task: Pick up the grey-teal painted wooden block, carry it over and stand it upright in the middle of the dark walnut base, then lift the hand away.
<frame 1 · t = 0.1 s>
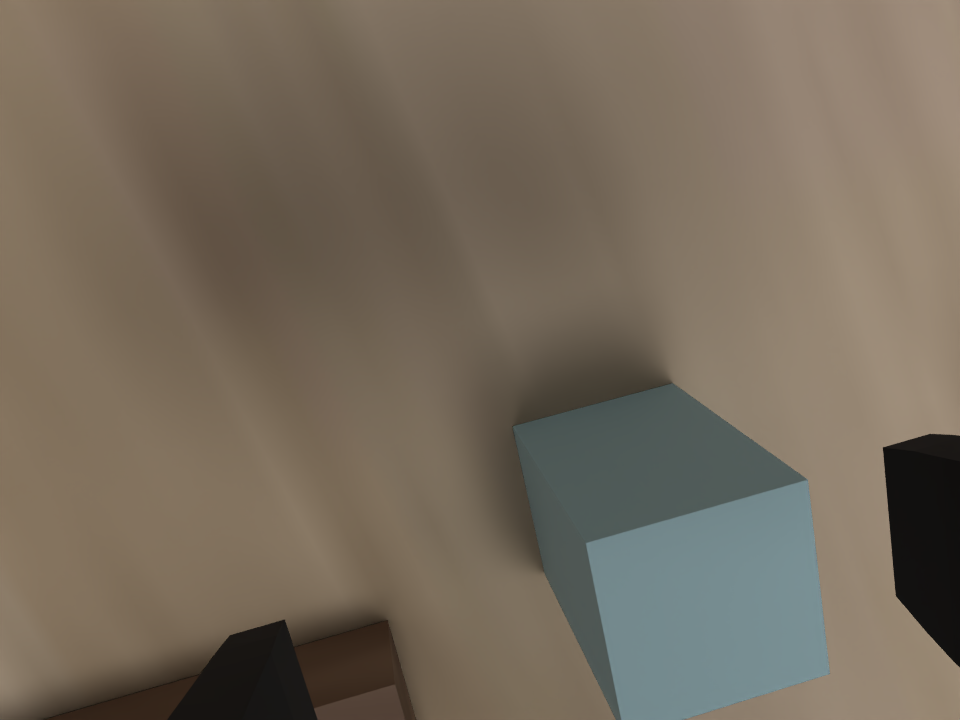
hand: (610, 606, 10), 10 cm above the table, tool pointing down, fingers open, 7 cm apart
teal block: (607, 479, 20), on the table
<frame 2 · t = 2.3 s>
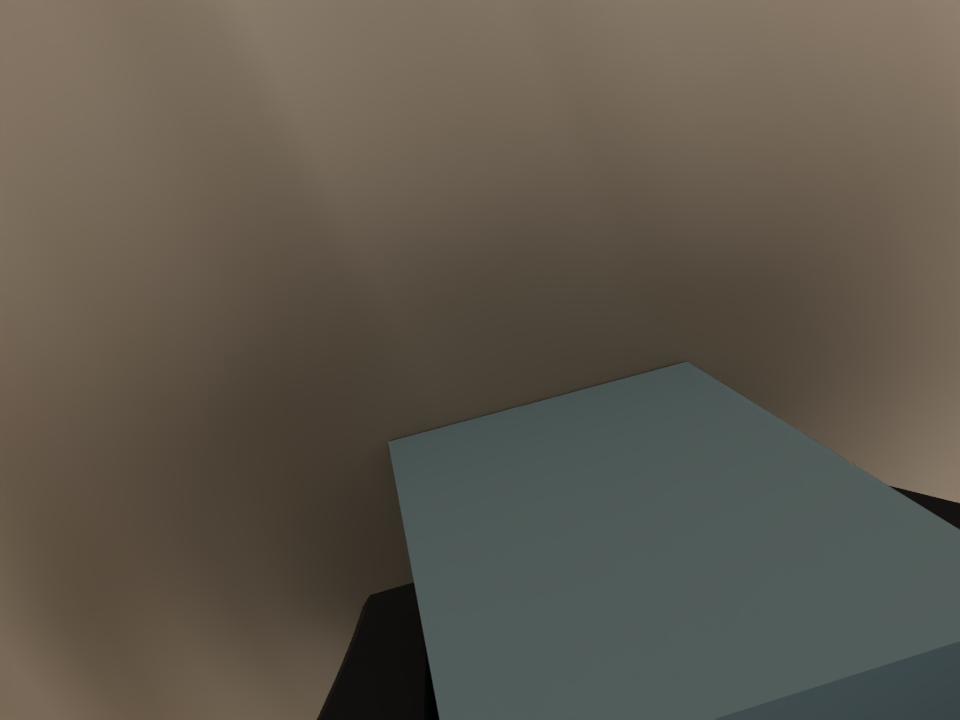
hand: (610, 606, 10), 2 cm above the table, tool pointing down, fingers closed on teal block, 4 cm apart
teal block: (569, 538, 11), on the table, touching gripper
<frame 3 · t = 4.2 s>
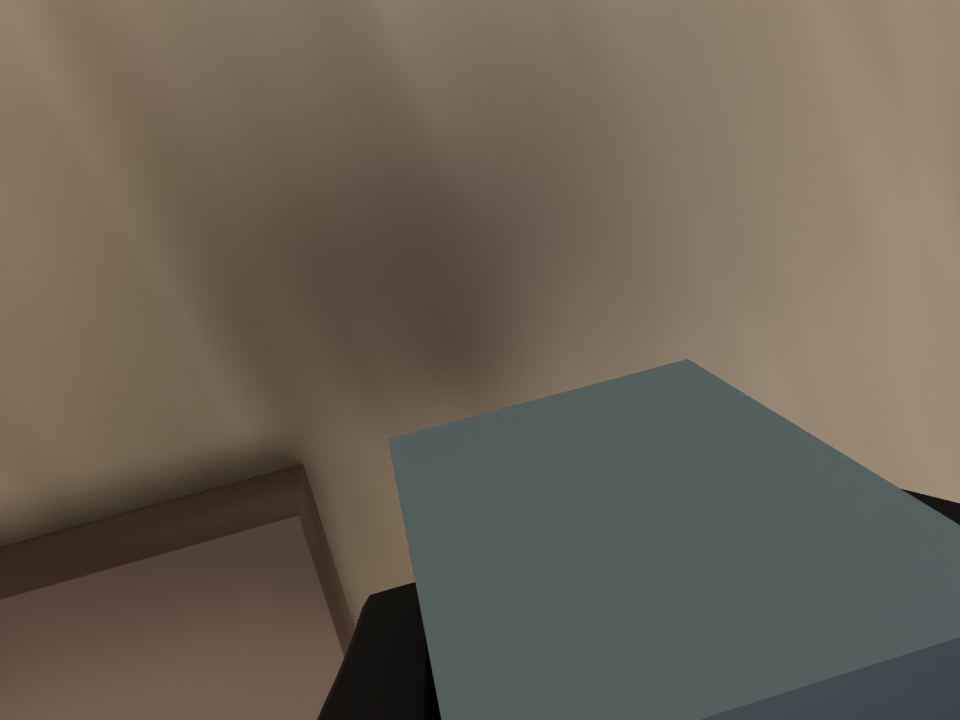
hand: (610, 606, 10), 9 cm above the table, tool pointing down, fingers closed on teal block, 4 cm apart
teal block: (569, 535, 11), point 7 cm above the table, touching gripper
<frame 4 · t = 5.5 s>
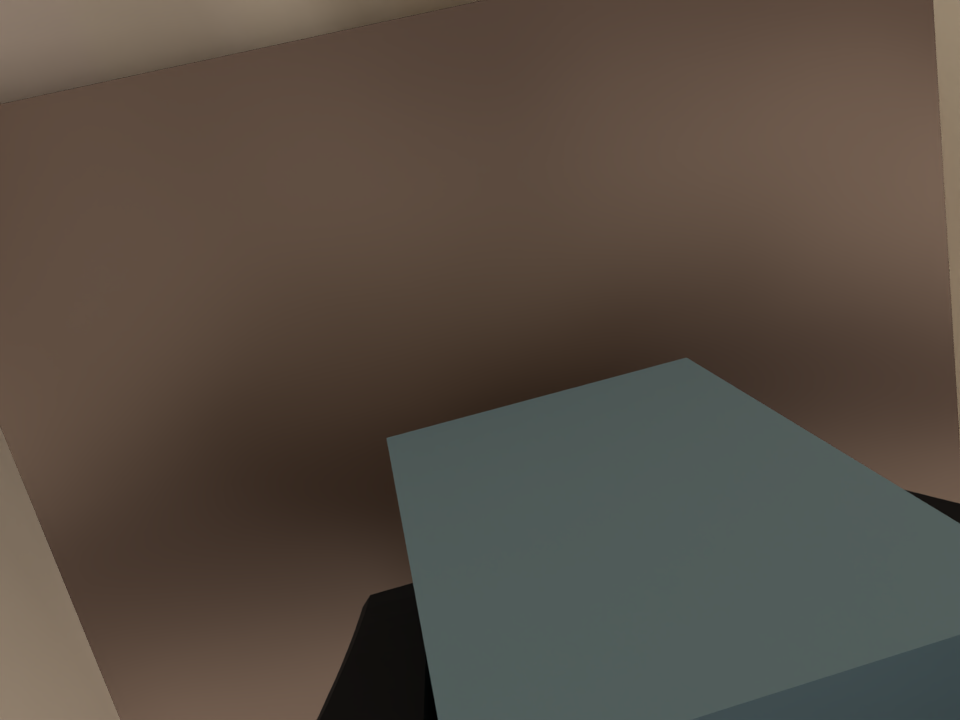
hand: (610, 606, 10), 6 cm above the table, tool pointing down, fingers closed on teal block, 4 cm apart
walnut base: (509, 436, 15), on the table
teal block: (568, 534, 11), point 4 cm above the table, touching gripper
when the fingers open (5 cm above the table, at t = 6.4 s): teal block stays where it is, resting on walnut base.
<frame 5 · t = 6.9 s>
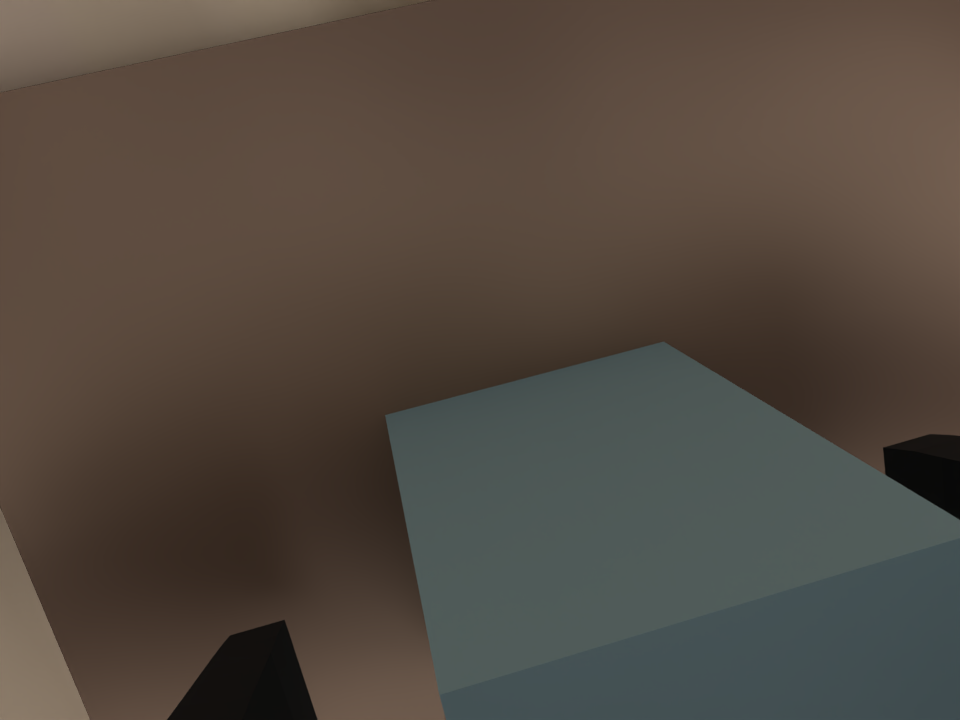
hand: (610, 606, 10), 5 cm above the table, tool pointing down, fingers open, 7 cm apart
walnut base: (516, 450, 14), on the table
teal block: (554, 506, 12), point 2 cm above the table, touching walnut base
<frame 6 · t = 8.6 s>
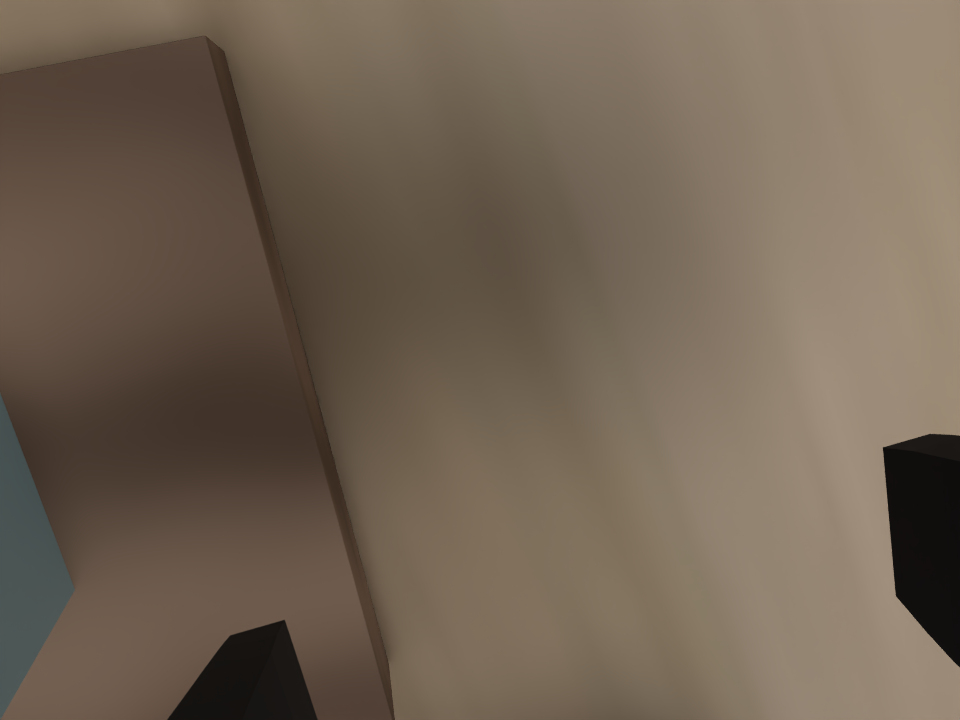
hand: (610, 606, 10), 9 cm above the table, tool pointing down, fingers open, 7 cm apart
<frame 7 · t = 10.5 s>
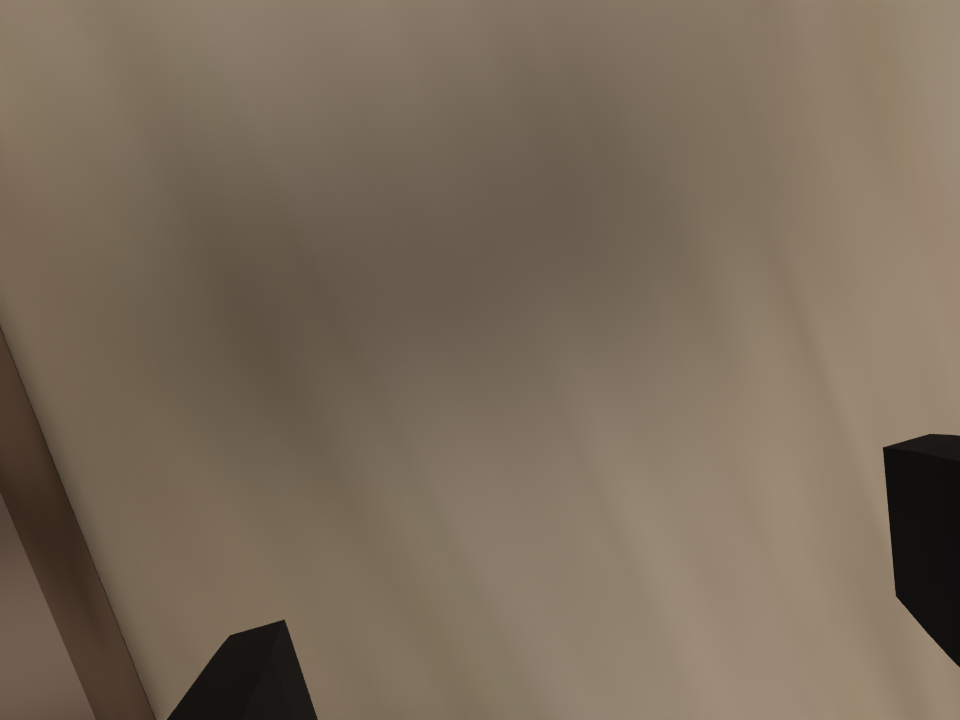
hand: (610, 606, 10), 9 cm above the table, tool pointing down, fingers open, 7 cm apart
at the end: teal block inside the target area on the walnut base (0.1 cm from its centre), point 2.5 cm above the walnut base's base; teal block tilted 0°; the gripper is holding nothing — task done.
